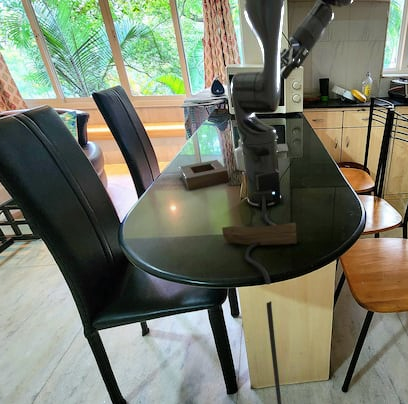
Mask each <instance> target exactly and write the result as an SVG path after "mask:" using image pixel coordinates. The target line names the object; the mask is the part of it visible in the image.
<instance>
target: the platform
mask: <svg viewBox="0 0 408 404" xmlns="http://www.w3.org/2000/svg"><path fill="white" fill-rule="evenodd" d="M276 138H277V139H278V138H279V135H276ZM289 151H290V150H289V147H288V144H287V143H277V153H278V152H289Z"/></svg>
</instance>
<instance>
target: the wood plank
mask: <svg viewBox="0 0 408 404" xmlns="http://www.w3.org/2000/svg"><path fill="white" fill-rule="evenodd" d="M221 229H222V235H223V238H224V240H226V242H227V243H237V244H240V245H252V244H253V243H255V242H260V245H259V246H271V245H273V246H274V245H291V244H293V245H294V244H297V242H298V241H297V222H289V223H285V224H276V225H274V226H271V225H266V226H233V225H232V226H223V227H221Z"/></svg>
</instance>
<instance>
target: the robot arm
mask: <svg viewBox="0 0 408 404" xmlns="http://www.w3.org/2000/svg"><path fill="white" fill-rule="evenodd" d="M353 1H354V0H316V2H315V3H314V5H313V7H312V8H311V10H310V11H309V12H308V14H307V15H306V17H304V18H303V20H301V22H300V24H299V25H298V26H297V28H296V29H295V31H294V32H293V33H292V35H291V36H290V38H289V43H290V47H287V49H286V48H283V50H282V37H283V25H284V15H285V4H286V3H285V2H286V0H244V8H243V9H244V11H243V12H244V16H245V20H246V23H247V25H248V27H249V29H250V31H251V33H252V34H253V36H254V38H255V40H256V42H257V43H258V45H259V48H260V50H261V54H262V61H263V63H262V65H263V66H262V71H240V72H237V73H235V74H234V75H233V77H232V79H231V83H230V93H231V101H232V107H233V113H234V117H235V123H236V130H237V132H238V135H239V140H241V148H242V156H243V164H244V180H245V187H246V192H247V193H246V195H247V203H248V204H249V205H250V206H252V207H257V208H259V209H262V217H263V220H264V221H265V222H266V223H267V224H268V225H269V226H274V225H277V224H276V223H275V222H273V221H271V220H270V219H269V217H268V215H267V207H268V208H269V207H271V206H276V205H280V204H281V203H282V195H281V184H280V183H281V182H280V171H279V157H278V156H279V155H278V152H277V144H278V142H277V140H278V138H276V136H277V130H276V128H275V127H274V126H272V125H270V124H267V123H265V122H263V121H262V120H260V118H258V117H257V116H256V114H273V113H276V111H277V110H278V108H279V105H280V100H281V77H282V79H283V80H287V79H288V78H289V77H290V75H291V73H292V72H293V71H296V69H300V67H301V66H302V65H303V63H304V62H305V60H306V59H307V57H308V56H309V54H310V53H311V52H312V50H313V49H314V48H315V46H316V45H317V43H318V42H319V41H320V39H322V36H323V34H324V32H325V31H326V30H327V28H329V26H330V24H331V23H332V21H333V19H334V11H333V9H332V7H336V8H347V7H349V6H350V5H351V4H352V2H353ZM281 71H282V72H281ZM259 246H261V245H260V242H255V243H253V244H252V245H251V244H249V246H248V247H246V250H245V252H244V259H245V261H246V262H247V263H249V264H251V265H253V266H254V267H255V268H257V269H258V270H259V271H260V273H261V274H262V276H263V278H264V282H265V284H266V285H271V284H272V283H271V279H270V275H269V274H268V271H267V270H266V268H265V267H264V266H263V264H261V263H259V262H258V261H257V260H255V259H253V258H252V257H251V256H250V253H251V251H252V250H253V249H254V248H256V247H259ZM266 312H267V313H266V314H267V315H266V316H267V322H268V323H267V325H268V332H269V341H270V342H269V343H270V349H271V350H270V351H271V359H272V369H273V377H274V378H273V379H274V386H275V394H276V403H277V404H282V396H281V385H280V377H279V367H278V358H277V348H276V338H275V337H276V336H275V329H274V327H275V326H274V318H273V306H272V300H270V301H268V302H266Z"/></svg>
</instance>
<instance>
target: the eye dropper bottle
mask: <svg viewBox="0 0 408 404" xmlns="http://www.w3.org/2000/svg"><path fill="white" fill-rule="evenodd" d="M237 141H238V147H237V148H235V149H234V154H235V155H234V156H235V161H236V169H237V170H238V171H239V172H243V171H244V164H243V156H242V148H241V140H240V139H239V140H237Z"/></svg>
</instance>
